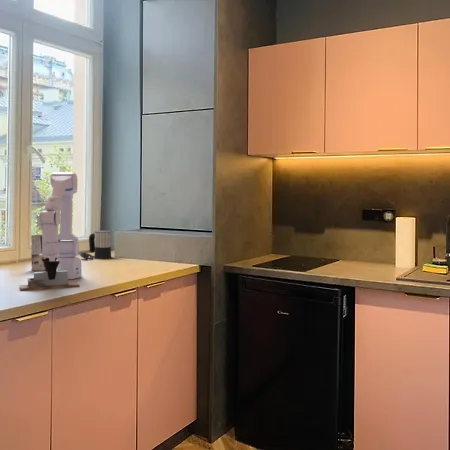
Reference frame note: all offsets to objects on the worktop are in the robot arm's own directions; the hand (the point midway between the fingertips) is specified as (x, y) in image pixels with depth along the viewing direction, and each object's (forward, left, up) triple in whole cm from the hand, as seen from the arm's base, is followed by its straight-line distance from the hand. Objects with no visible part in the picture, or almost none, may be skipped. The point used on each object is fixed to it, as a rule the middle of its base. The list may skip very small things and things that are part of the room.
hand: (50, 277), depth 199 cm
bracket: (0, 0, -3) cm, 3 cm away
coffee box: (+33, -35, -4) cm, 48 cm away
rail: (0, 0, -3) cm, 3 cm away
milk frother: (+33, -76, -4) cm, 83 cm away
